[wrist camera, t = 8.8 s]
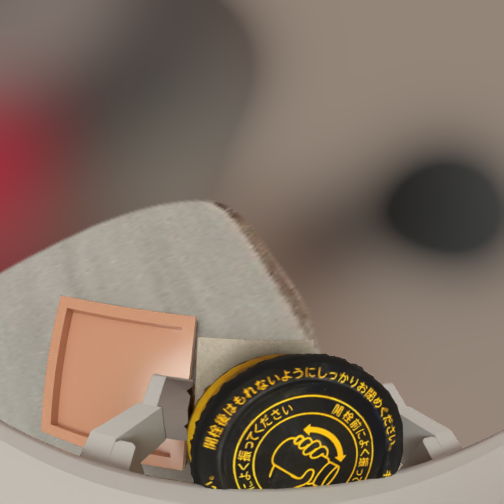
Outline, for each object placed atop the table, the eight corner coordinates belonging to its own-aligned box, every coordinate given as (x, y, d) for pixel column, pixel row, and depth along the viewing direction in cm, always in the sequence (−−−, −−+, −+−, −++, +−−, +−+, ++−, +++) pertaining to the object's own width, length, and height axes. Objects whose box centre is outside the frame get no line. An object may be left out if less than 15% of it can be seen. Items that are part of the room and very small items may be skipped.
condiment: (194, 467, 14) (156, 568, 3) (198, 337, 18) (166, 242, 7) (313, 465, 14) (434, 527, 4) (312, 340, 18) (424, 257, 8)
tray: (185, 464, 23) (182, 470, 20) (52, 429, 22) (41, 430, 20) (197, 322, 30) (195, 316, 28) (70, 302, 29) (61, 295, 27)
